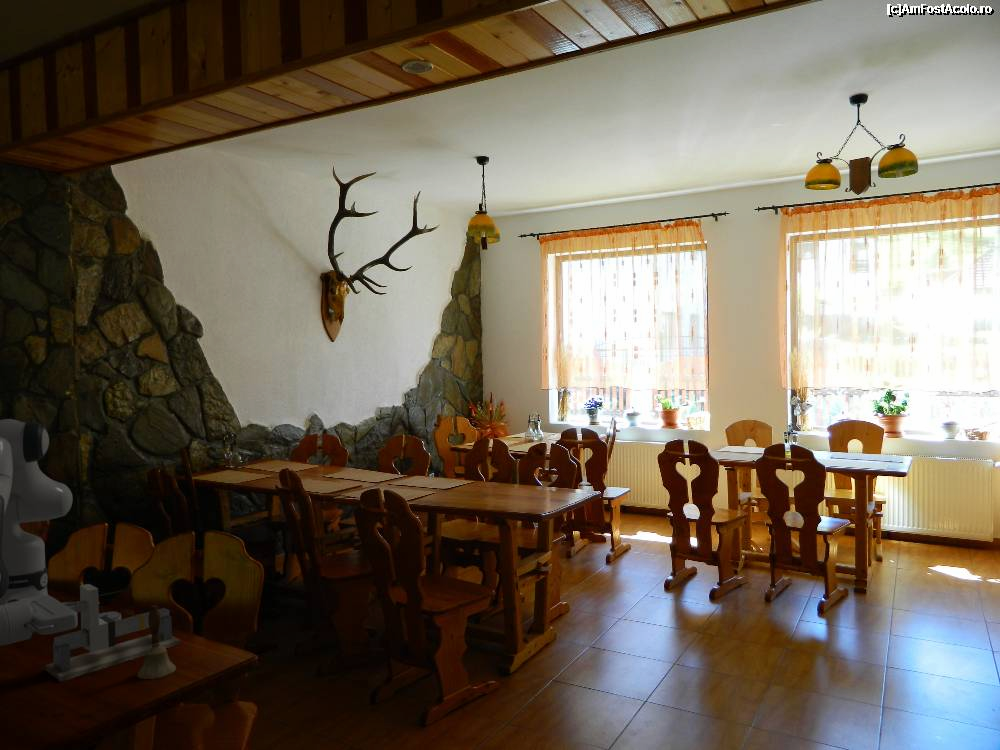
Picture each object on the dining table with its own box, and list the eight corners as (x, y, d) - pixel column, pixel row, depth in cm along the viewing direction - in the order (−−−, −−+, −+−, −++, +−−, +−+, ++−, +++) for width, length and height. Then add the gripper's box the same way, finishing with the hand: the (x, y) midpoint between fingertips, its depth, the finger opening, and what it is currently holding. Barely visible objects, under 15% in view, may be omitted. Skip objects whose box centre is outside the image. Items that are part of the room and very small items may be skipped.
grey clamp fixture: (61, 672, 170) (60, 641, 170) (53, 666, 173) (52, 635, 173) (171, 638, 190) (171, 610, 189) (163, 634, 193) (162, 606, 193)
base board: (60, 681, 168) (60, 676, 168) (45, 670, 174) (45, 665, 174) (180, 644, 189) (180, 640, 189) (163, 635, 195) (163, 630, 195)
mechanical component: (111, 639, 194) (134, 625, 204) (111, 622, 194) (133, 609, 204) (76, 638, 195) (100, 624, 205) (76, 621, 195) (100, 608, 205)
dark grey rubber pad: (108, 647, 177) (108, 623, 177) (99, 641, 181) (98, 617, 181) (115, 645, 179) (114, 621, 178) (106, 639, 182) (105, 615, 182)
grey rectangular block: (91, 652, 174) (89, 590, 174) (81, 646, 178) (79, 585, 178) (108, 647, 177) (106, 586, 177) (99, 641, 181) (97, 581, 181)
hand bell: (146, 683, 167) (144, 614, 166) (131, 673, 172) (129, 606, 171) (182, 670, 173) (180, 604, 172) (166, 661, 178) (164, 597, 178)
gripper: (32, 618, 159) (100, 601, 169) (5, 598, 172) (69, 583, 183) (33, 646, 159) (101, 628, 169) (6, 624, 172) (70, 608, 183)
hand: (84, 605), depth 176 cm, fingers closed, pressing on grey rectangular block
